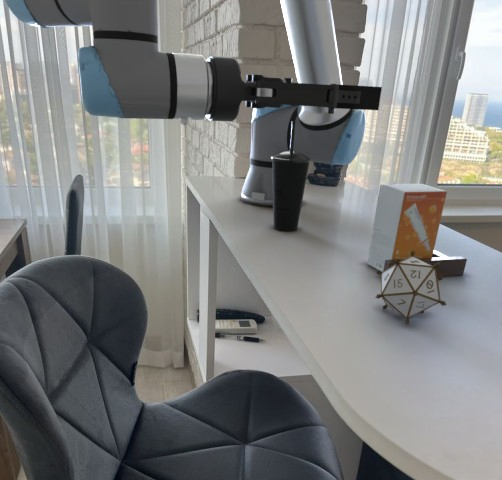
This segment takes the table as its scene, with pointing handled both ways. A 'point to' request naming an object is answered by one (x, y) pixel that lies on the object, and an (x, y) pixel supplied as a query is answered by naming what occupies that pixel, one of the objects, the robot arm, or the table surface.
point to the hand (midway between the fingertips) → (354, 96)
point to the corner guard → (447, 264)
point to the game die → (410, 286)
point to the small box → (405, 222)
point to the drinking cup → (288, 186)
